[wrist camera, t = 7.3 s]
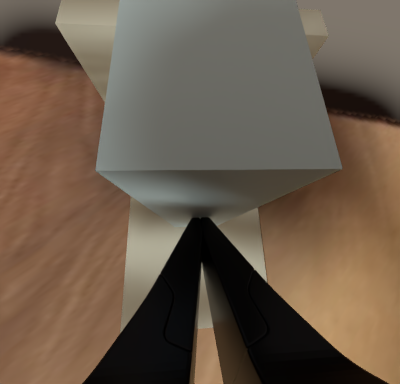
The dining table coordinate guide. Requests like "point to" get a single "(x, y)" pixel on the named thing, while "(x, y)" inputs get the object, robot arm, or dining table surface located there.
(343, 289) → the dining table surface
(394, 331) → the dining table surface
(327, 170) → the light gray rectangular block
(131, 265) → the beige bookend
